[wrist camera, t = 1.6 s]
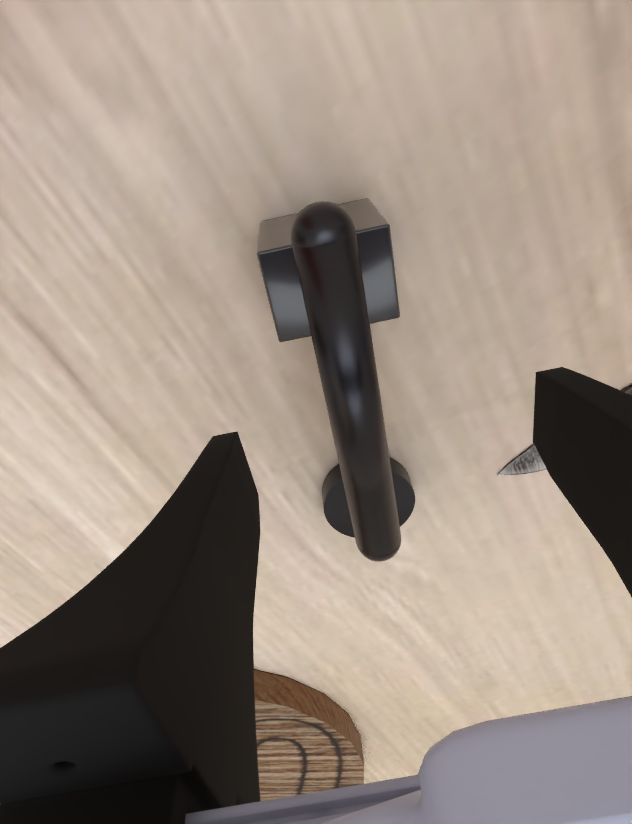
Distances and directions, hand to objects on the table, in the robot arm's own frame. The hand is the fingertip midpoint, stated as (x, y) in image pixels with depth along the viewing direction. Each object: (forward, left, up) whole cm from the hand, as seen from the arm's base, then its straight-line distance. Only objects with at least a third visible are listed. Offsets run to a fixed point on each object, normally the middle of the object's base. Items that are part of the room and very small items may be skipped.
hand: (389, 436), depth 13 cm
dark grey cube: (+2, -1, -10) cm, 10 cm away
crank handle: (-2, +3, -10) cm, 10 cm away
